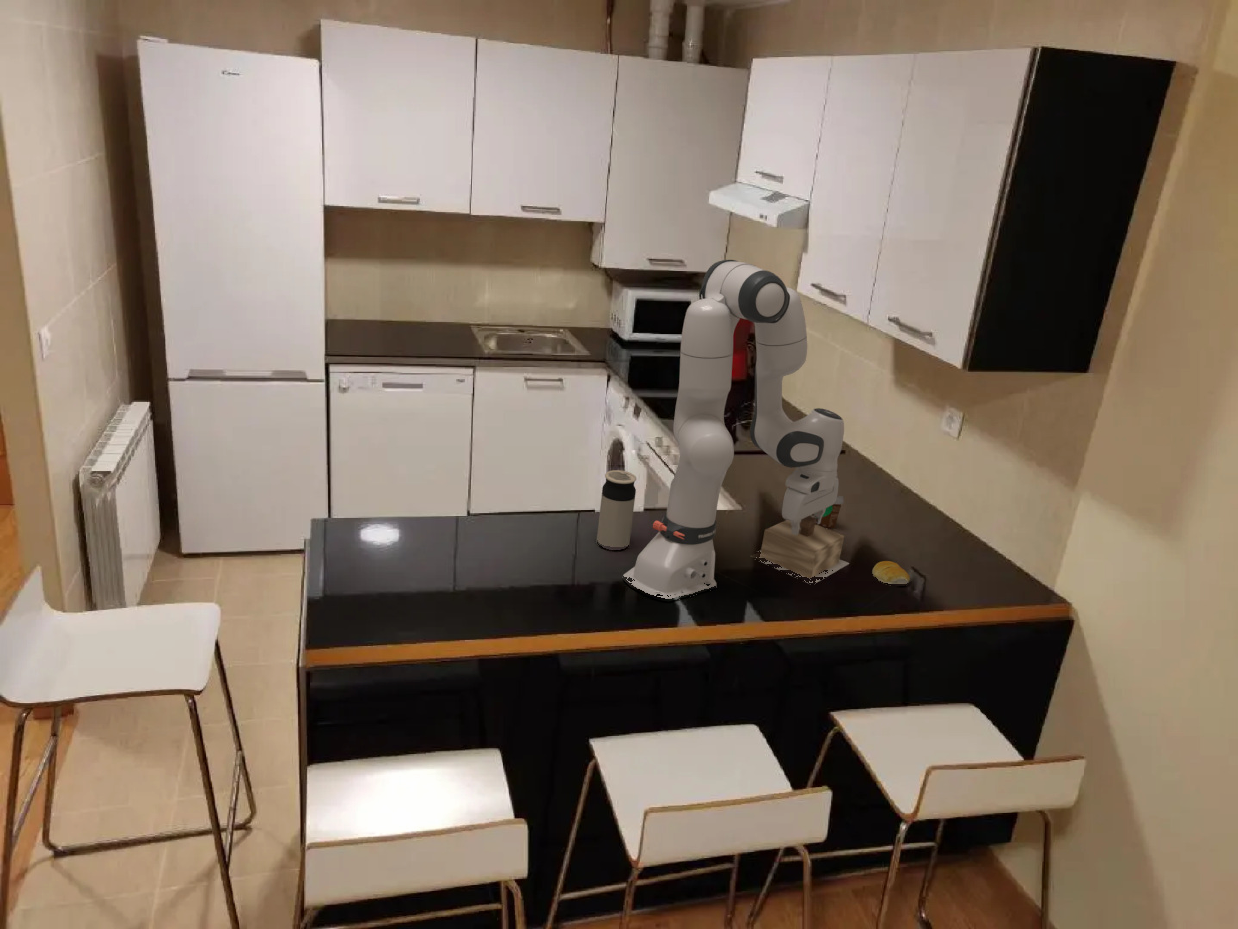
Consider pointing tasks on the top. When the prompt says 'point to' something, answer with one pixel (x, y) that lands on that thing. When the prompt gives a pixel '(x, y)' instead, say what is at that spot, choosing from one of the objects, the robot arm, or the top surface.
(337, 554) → the top surface
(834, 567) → the white paper sheet
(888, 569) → the bread roll
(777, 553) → the tan block
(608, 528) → the travel mug
